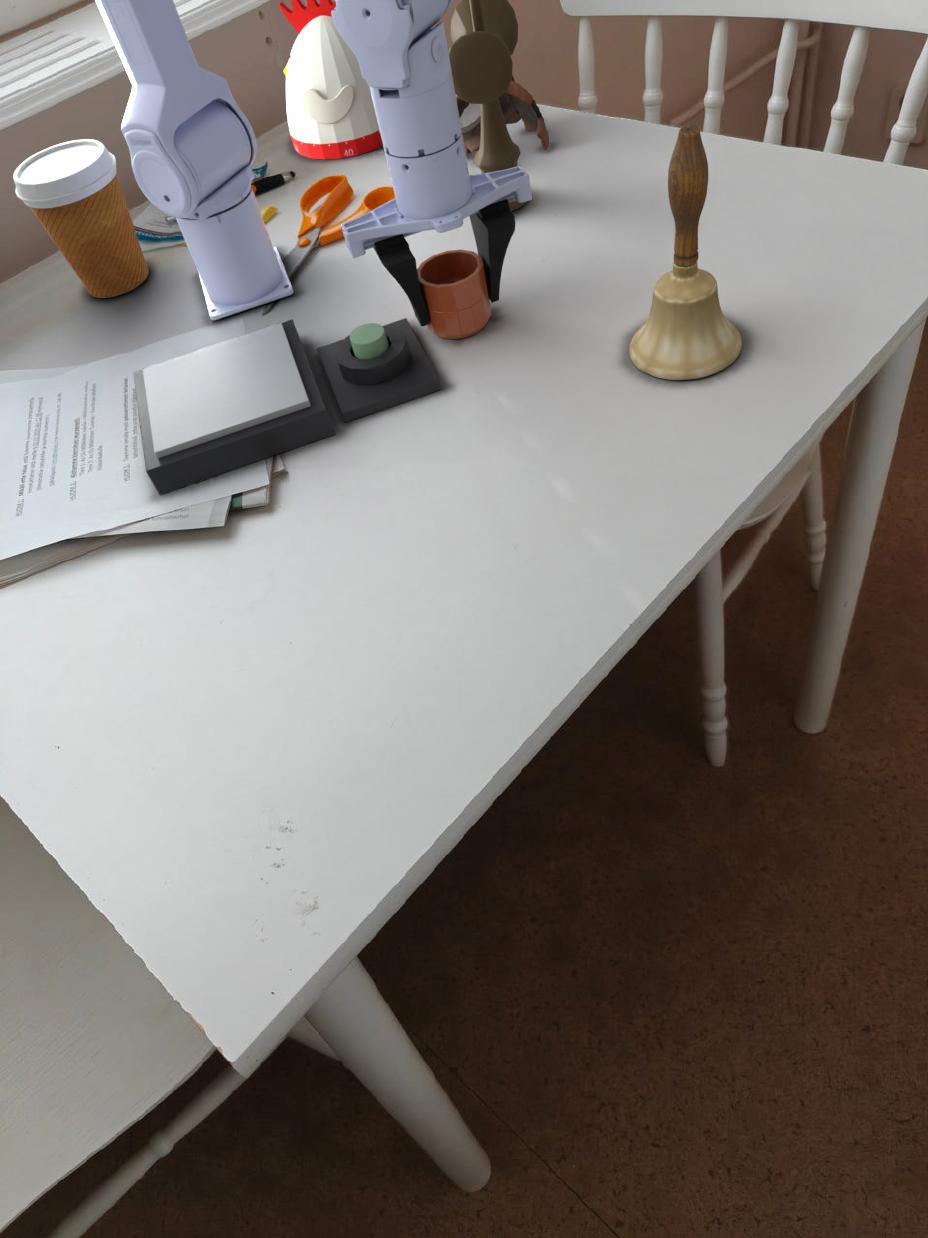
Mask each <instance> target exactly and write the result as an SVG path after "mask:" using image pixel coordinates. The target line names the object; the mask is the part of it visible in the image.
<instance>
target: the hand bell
mask: <svg viewBox="0 0 928 1238" xmlns="http://www.w3.org/2000/svg"><path fill="white" fill-rule="evenodd" d="M708 162H709V161H708V158H707V154H706V150H705V146H704V144H703V140H702V134H701V128H700V126H698V125H696V124H686V125H684V126H681V127H680V128H679V129H678V135H677V139H676V143H675V145H674V148H673V151H672V154H671V158H670V161H669V166H668V171H667V172H668V173H667V195H668V202H669V206H670V210H671V214H672V217H673V220H674V230H675V231H674V247H673V263H672V270H670V271H668V272H665V273H664V274H662V275H661V276H660V277H659V278H658V279H657V280H656V281H655V283H654V286H653V291H652V300H651V305H650V309H649V310H650V311H649V314H648V318H647V320H646V322H645V323H644V324H643V325H642V326H640V328H639V329H638V330H636V332H635V333H634V335H633V337H632V339H631V341H630V343H629V346H628V347H629V348H628V354H629V357H630V360H631V362H632V363H633V365H634V366H635V367H636V368H637V369H639V370H640V371H642V372H643V373H646V374H647V375H650V376H652V377H655V378H658V379H663V380H669V381H687V380H697V379H703V378H705V377H709V376H712V375H715V374H717V373H719V372H721V371H723V370H725V369H726V368H727V367H730V366H731V365H732V364H733V363H734V362H735V361H736V360H737V359H738V357H739V356H740V354H741V351H742V349H743V338H742V336H741V334H740V332H739V330H738V329H737V327H736V326H735V325H734V324H733V323H732V322H731V321H730V320H728V319H727V318H726V317H725V316H724V314H723V311H722V308H721V307H722V306H721V303H720V298H719V297H720V296H719V289H718V282H717V279H716V277H715V276H714V275H713V274H712V273H711V272H710V271H707V270H705V269H702V268H699V267H698V265H699V264H698V262H699V261H698V260H699V225H700V220H701V215H702V213H703V210H704V207H705V203H706V199H707V194H708V187H709V163H708Z"/></svg>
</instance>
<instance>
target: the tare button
mask: <svg viewBox="0 0 928 1238" xmlns="http://www.w3.org/2000/svg"><path fill="white" fill-rule="evenodd" d="M382 326H383V325H381V324H379V323H365V324H362V325H359V326H357V327H355V328H354V329H353V330H352V331H351V333H350V334H349V335H350V341H351V344H352V348H353V351H354V354H355V356H356V357H357V358H358V359H373V358H376V357H379V356H381V355H382V354H384V353H385V352H386V351H388V348H389V344H388V341H387V337H386V334H385V330H384V328H383V327H382Z"/></svg>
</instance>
